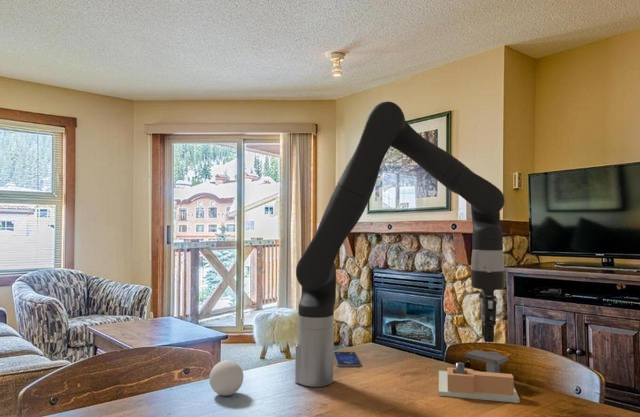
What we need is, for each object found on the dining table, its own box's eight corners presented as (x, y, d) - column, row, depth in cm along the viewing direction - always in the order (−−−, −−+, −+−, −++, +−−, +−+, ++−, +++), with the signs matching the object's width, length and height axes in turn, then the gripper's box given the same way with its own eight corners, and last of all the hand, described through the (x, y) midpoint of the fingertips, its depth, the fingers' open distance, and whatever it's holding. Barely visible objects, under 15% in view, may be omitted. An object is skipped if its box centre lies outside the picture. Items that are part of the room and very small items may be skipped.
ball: (233, 402, 108) (234, 367, 109) (202, 398, 111) (203, 363, 111) (248, 391, 116) (249, 357, 116) (219, 387, 118) (220, 355, 119)
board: (438, 395, 114) (438, 391, 114) (438, 374, 130) (438, 370, 130) (519, 402, 109) (519, 398, 109) (509, 379, 126) (509, 376, 126)
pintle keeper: (455, 393, 115) (455, 364, 116) (454, 373, 131) (453, 348, 131) (514, 398, 112) (514, 368, 112) (505, 378, 127) (505, 351, 128)
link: (511, 388, 116) (510, 372, 116) (514, 397, 110) (514, 379, 110) (447, 383, 120) (447, 367, 120) (447, 391, 114) (447, 374, 114)
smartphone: (355, 351, 151) (362, 365, 136) (355, 354, 151) (362, 368, 136) (332, 351, 151) (337, 365, 136) (332, 354, 151) (337, 368, 136)
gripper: (469, 265, 123) (469, 331, 123) (473, 270, 110) (473, 345, 109) (500, 266, 122) (500, 333, 121) (508, 271, 108) (508, 347, 107)
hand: (487, 338), depth 115 cm, fingers open, 5 cm apart
